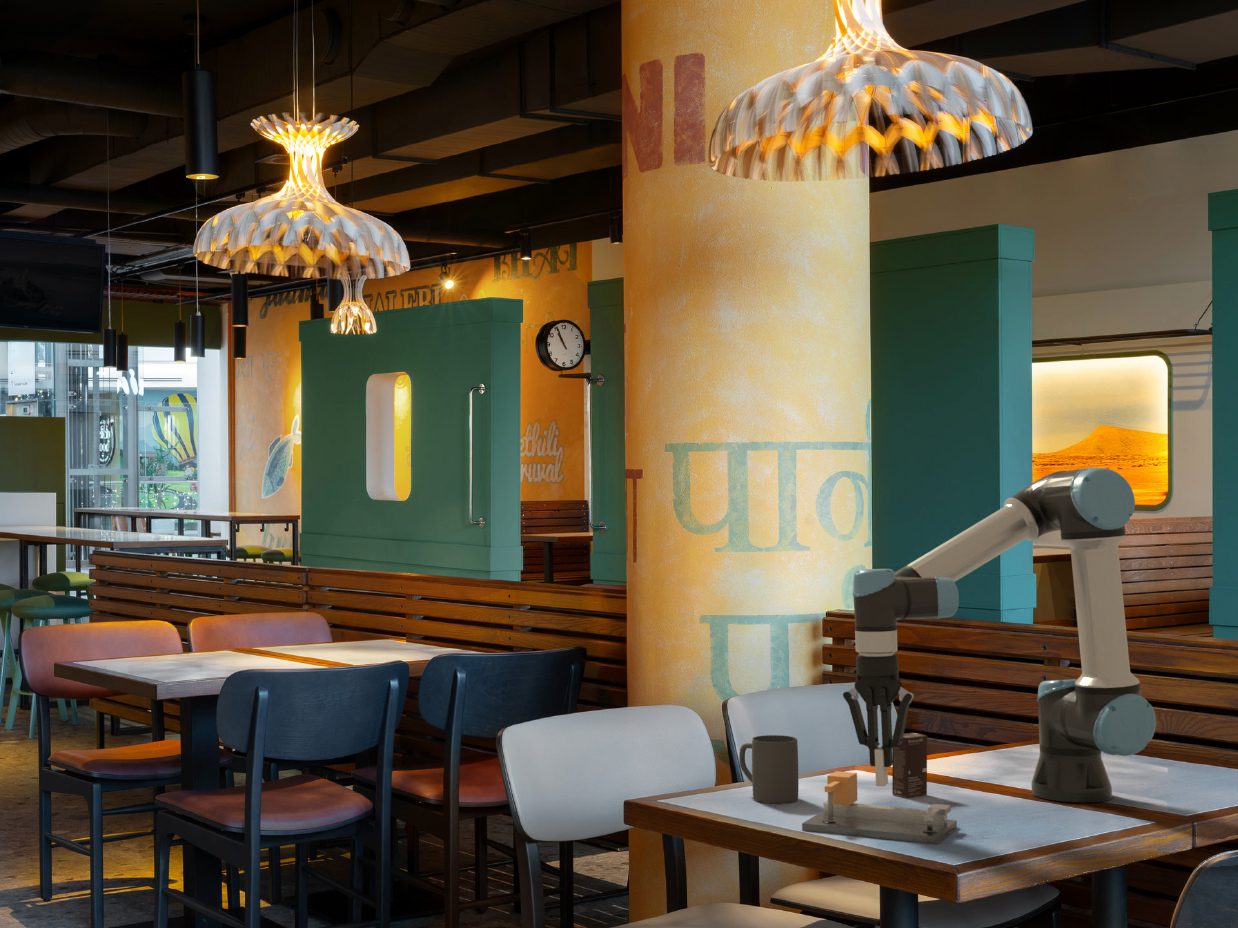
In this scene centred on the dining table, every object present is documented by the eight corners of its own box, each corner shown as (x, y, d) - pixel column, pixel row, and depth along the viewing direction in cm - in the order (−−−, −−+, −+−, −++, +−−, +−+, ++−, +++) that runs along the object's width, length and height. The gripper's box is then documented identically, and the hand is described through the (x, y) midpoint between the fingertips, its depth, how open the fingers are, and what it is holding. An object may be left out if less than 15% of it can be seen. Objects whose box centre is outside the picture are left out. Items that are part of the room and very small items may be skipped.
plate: (956, 827, 227) (956, 819, 227) (937, 843, 215) (937, 836, 215) (827, 814, 238) (827, 807, 239) (802, 830, 226) (802, 822, 226)
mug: (808, 799, 253) (807, 738, 254) (779, 806, 247) (778, 743, 247) (754, 790, 263) (753, 731, 264) (725, 796, 256) (725, 736, 257)
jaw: (857, 810, 234) (856, 772, 235) (839, 821, 225) (838, 782, 225) (836, 808, 236) (835, 771, 237) (817, 819, 227) (817, 780, 227)
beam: (951, 822, 226) (950, 805, 226) (937, 834, 217) (936, 816, 217) (829, 810, 236) (828, 794, 236) (810, 821, 227) (810, 804, 227)
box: (908, 798, 253) (906, 737, 254) (891, 794, 257) (890, 734, 257) (929, 794, 256) (928, 734, 257) (912, 791, 260) (911, 731, 261)
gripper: (917, 652, 233) (923, 782, 231) (848, 651, 239) (853, 778, 237) (906, 656, 226) (912, 790, 225) (835, 655, 232) (840, 786, 231)
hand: (882, 784), depth 231 cm, fingers closed
